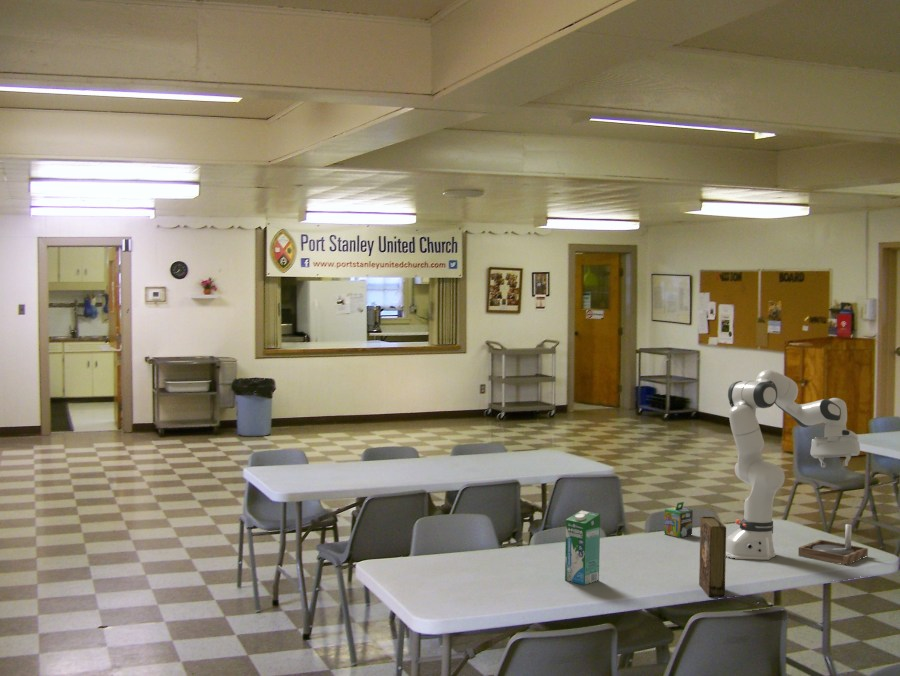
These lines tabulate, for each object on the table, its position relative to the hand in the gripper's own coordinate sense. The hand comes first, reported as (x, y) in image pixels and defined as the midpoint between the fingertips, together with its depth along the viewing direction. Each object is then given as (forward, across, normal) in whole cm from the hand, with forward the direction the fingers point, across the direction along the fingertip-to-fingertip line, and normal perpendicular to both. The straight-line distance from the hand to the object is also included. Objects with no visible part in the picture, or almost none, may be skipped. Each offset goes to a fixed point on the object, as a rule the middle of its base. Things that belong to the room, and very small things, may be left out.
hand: (834, 466), depth 414 cm
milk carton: (+74, -51, -92) cm, 129 cm away
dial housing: (+37, -1, +5) cm, 38 cm away
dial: (+36, -1, +4) cm, 36 cm away
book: (+71, -12, -69) cm, 99 cm away
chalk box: (+33, -64, -12) cm, 73 cm away
